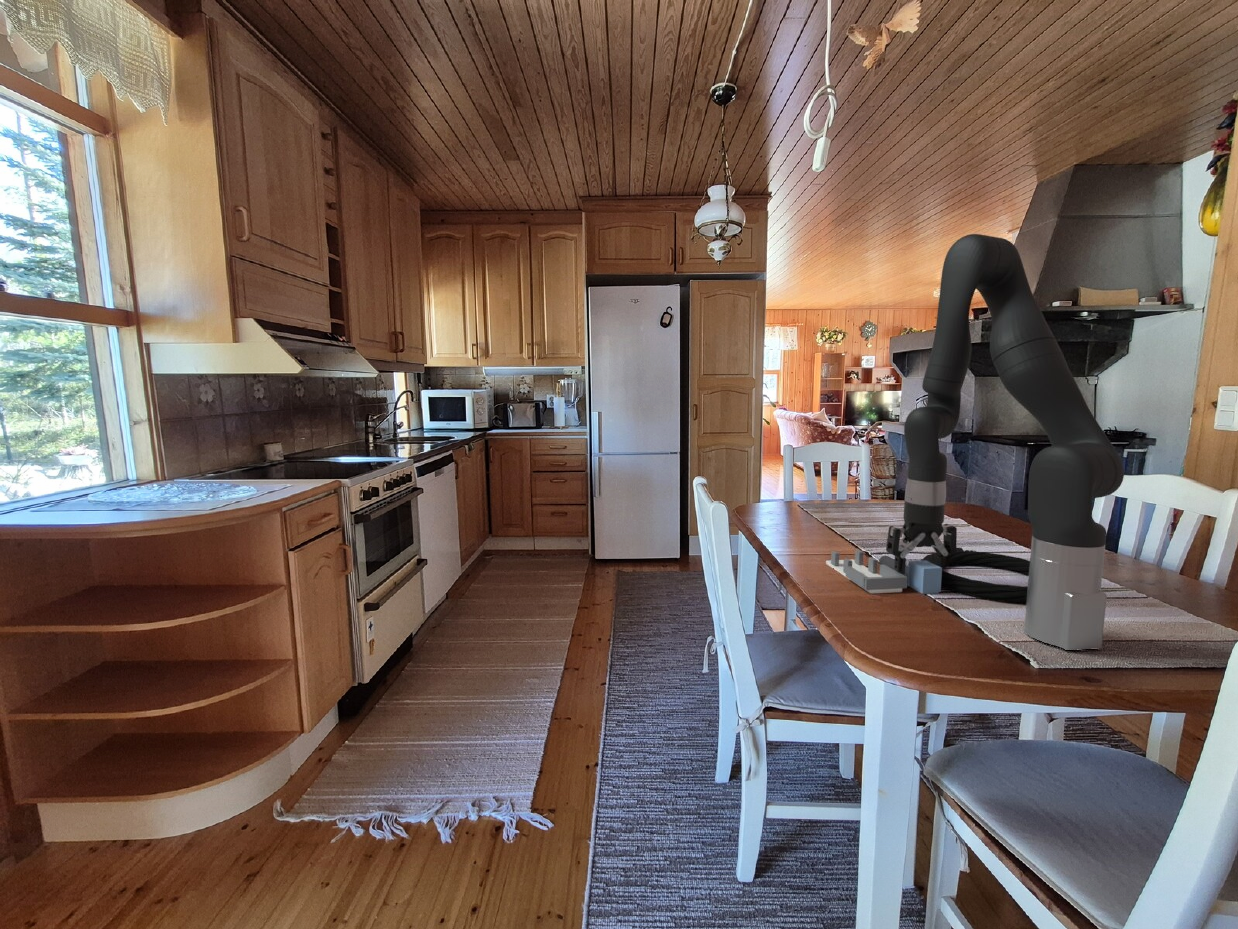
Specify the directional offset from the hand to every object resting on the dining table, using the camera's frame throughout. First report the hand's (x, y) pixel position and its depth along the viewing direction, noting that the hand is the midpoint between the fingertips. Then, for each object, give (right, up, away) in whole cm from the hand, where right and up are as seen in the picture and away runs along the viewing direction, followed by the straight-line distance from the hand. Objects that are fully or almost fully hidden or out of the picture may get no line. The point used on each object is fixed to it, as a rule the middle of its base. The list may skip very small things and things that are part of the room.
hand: (919, 572), depth 113 cm
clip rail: (-10, -2, +8) cm, 12 cm away
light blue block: (0, -2, +4) cm, 5 cm away
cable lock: (+17, -3, +4) cm, 18 cm away
